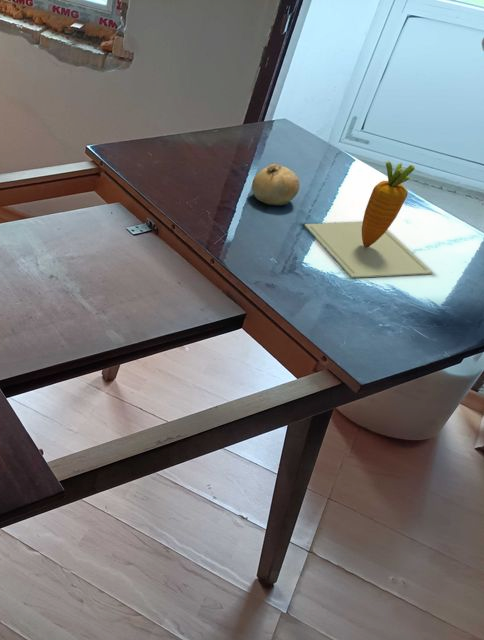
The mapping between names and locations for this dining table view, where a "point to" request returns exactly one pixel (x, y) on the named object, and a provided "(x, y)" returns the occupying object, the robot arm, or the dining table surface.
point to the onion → (275, 185)
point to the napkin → (366, 251)
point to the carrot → (384, 204)
